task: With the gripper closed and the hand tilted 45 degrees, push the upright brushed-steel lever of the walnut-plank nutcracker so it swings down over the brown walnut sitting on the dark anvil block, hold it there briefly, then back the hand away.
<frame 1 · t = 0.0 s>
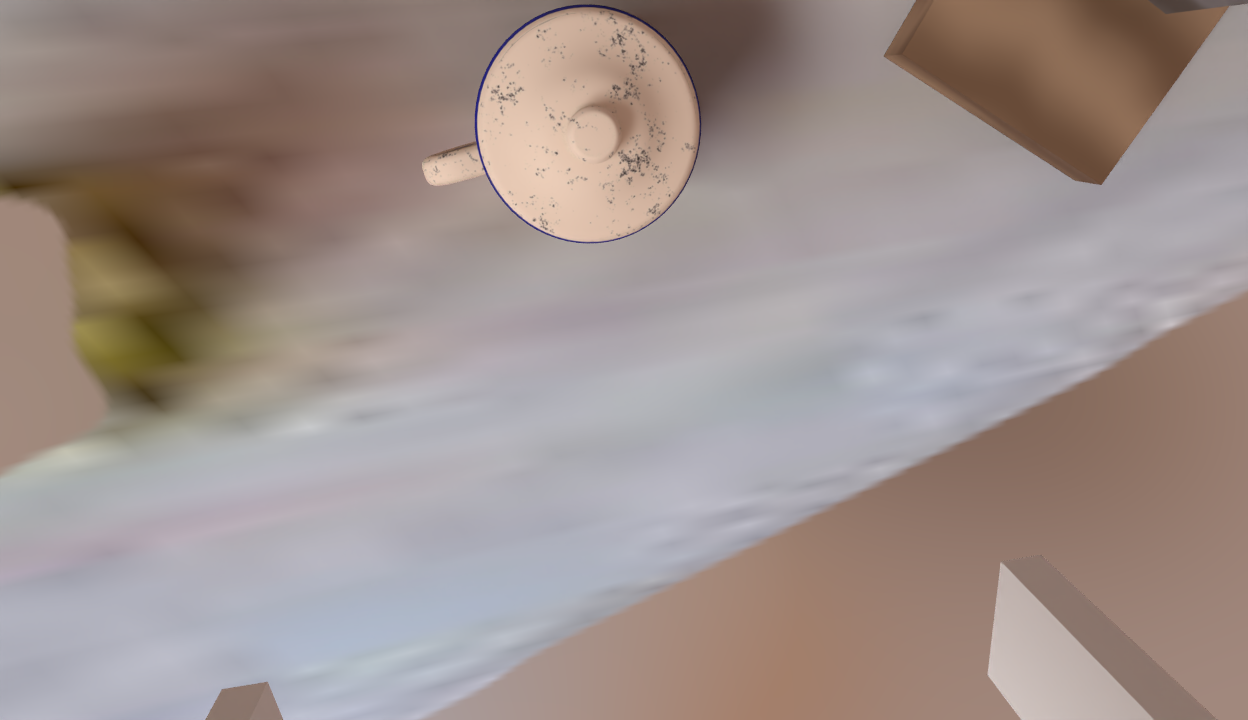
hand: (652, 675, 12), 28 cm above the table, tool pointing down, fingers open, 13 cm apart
teacup with lid: (553, 130, 35), on the table
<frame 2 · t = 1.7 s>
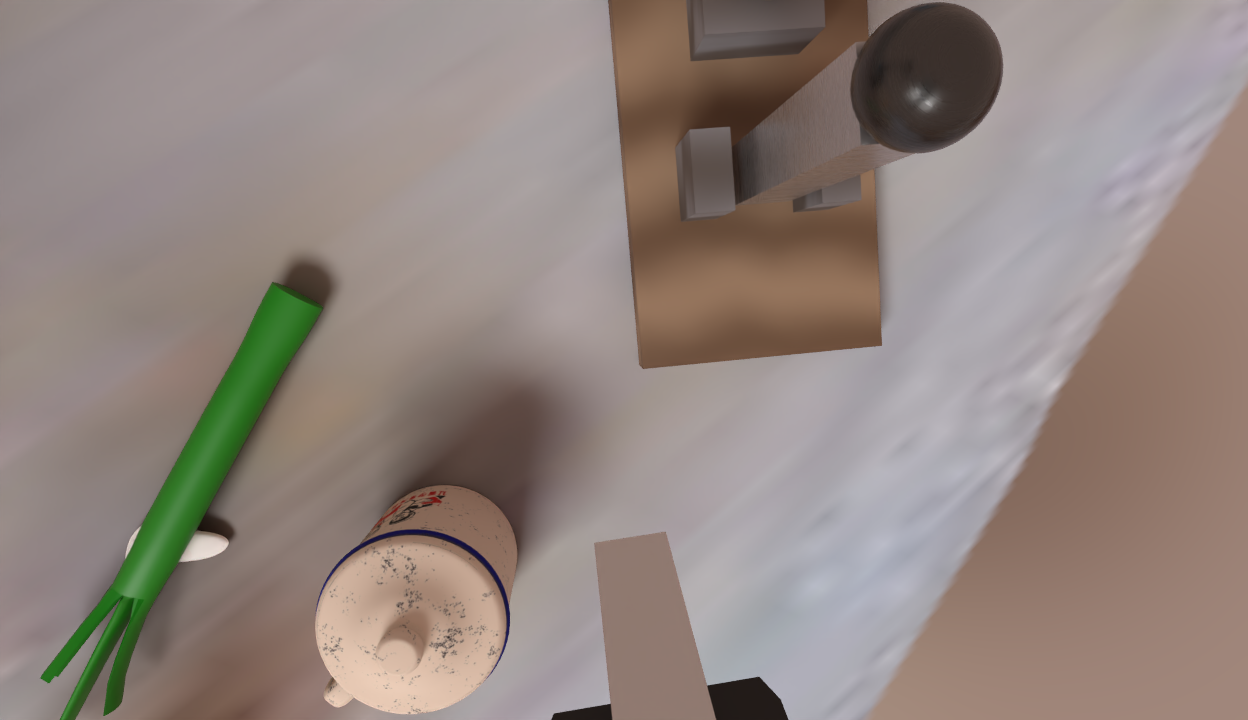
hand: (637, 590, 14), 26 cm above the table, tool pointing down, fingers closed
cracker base: (743, 184, 40), on the table
teacup with lid: (430, 568, 41), on the table
green onion: (195, 522, 40), on the table
lever: (826, 136, 27), point 13 cm above the table, hinge at 0.0°
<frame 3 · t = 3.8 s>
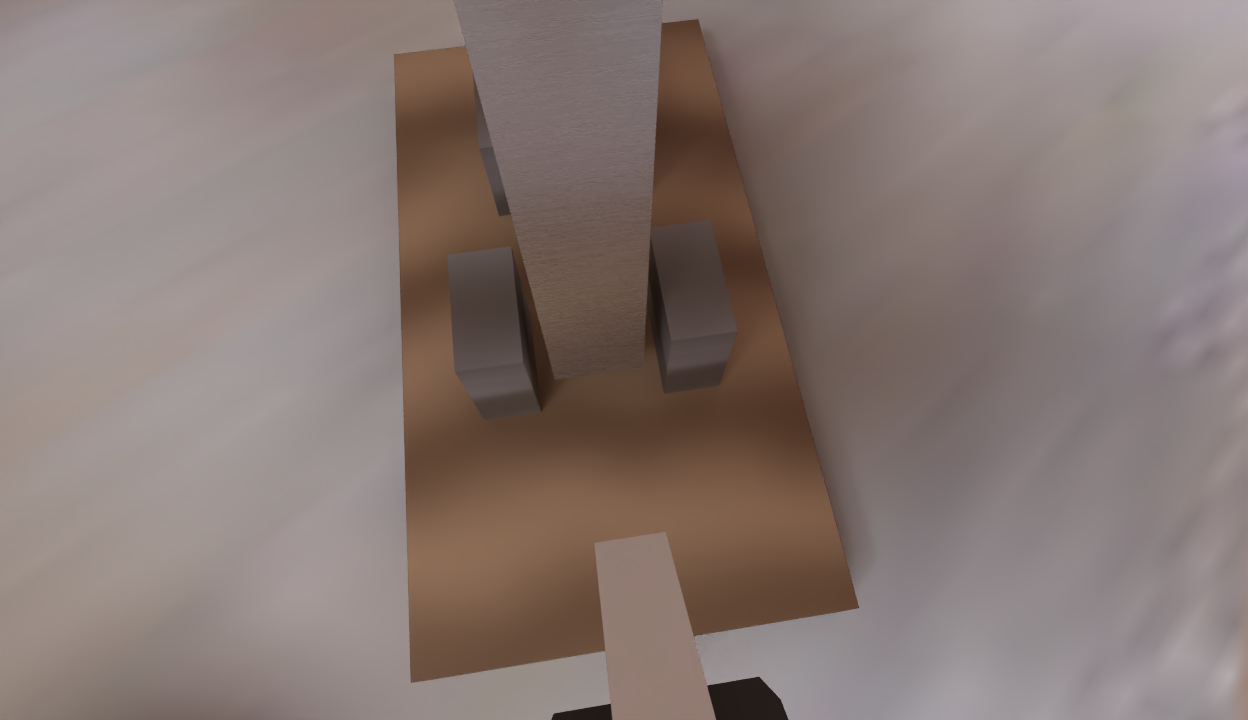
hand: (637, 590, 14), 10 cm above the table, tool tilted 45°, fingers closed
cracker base: (597, 372, 27), on the table
lever: (572, 146, 15), point 13 cm above the table, hinge at 0.0°
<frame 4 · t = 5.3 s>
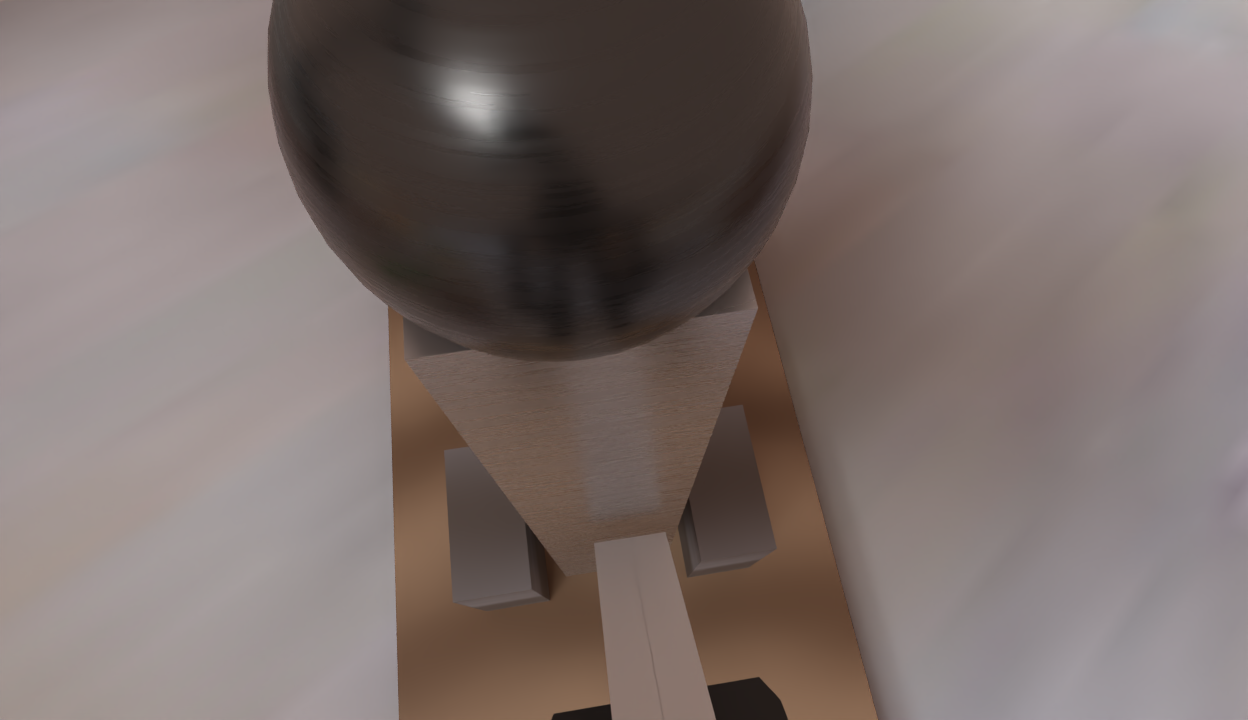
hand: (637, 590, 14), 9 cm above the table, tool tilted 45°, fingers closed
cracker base: (610, 535, 24), on the table
lever: (594, 417, 12), point 13 cm above the table, hinge at 0.9°, touching gripper
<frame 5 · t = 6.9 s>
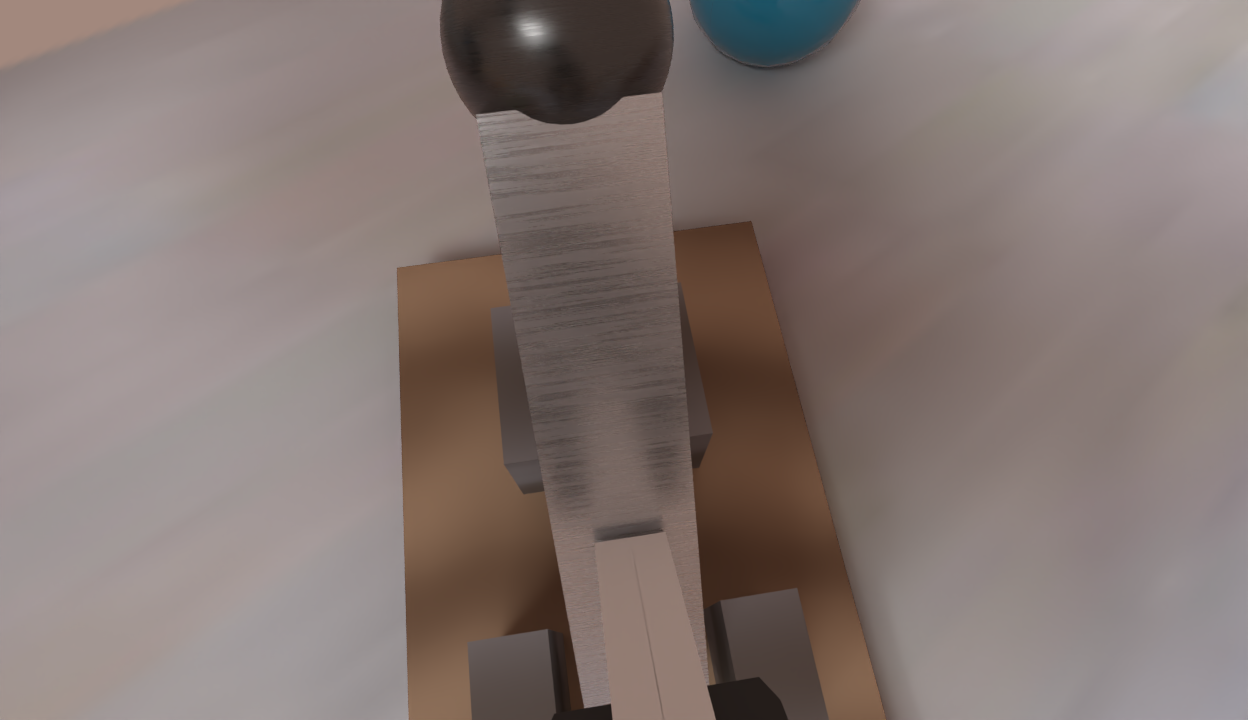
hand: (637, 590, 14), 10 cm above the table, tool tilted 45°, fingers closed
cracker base: (641, 688, 22), on the table
ball: (758, 46, 34), on the table
lever: (608, 417, 15), point 11 cm above the table, hinge at 43.8°, touching gripper
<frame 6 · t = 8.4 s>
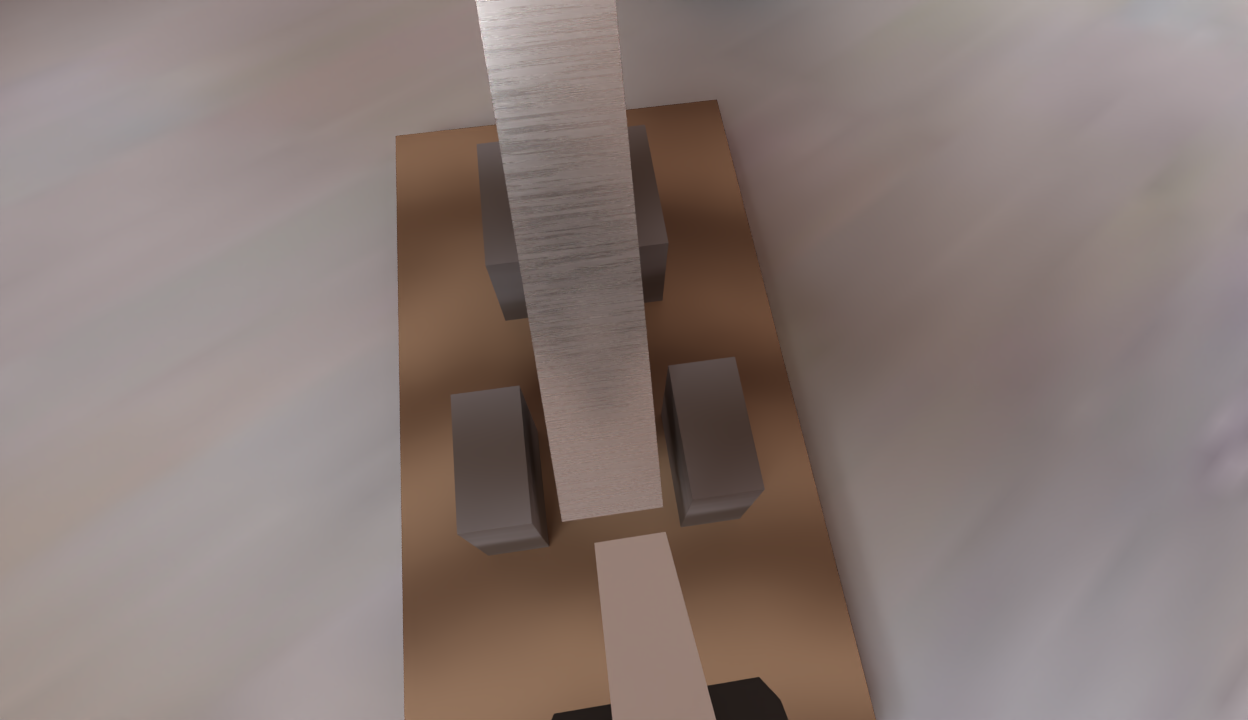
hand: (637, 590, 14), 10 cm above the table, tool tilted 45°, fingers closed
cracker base: (608, 490, 25), on the table
lever: (568, 178, 18), point 11 cm above the table, hinge at 43.9°
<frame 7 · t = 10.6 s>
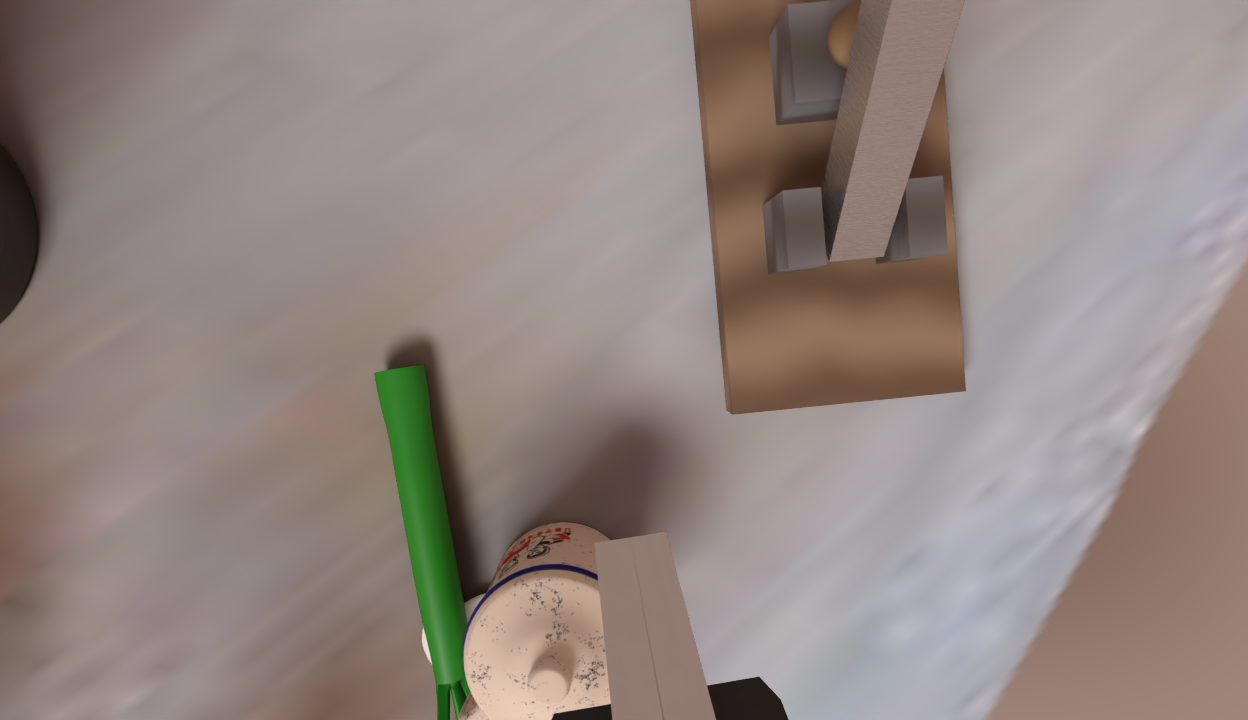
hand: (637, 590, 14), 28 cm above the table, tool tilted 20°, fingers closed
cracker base: (825, 237, 42), on the table
teacup with lid: (548, 603, 43), on the table
green onion: (459, 600, 43), on the table
lever: (890, 77, 31), point 11 cm above the table, hinge at 43.9°
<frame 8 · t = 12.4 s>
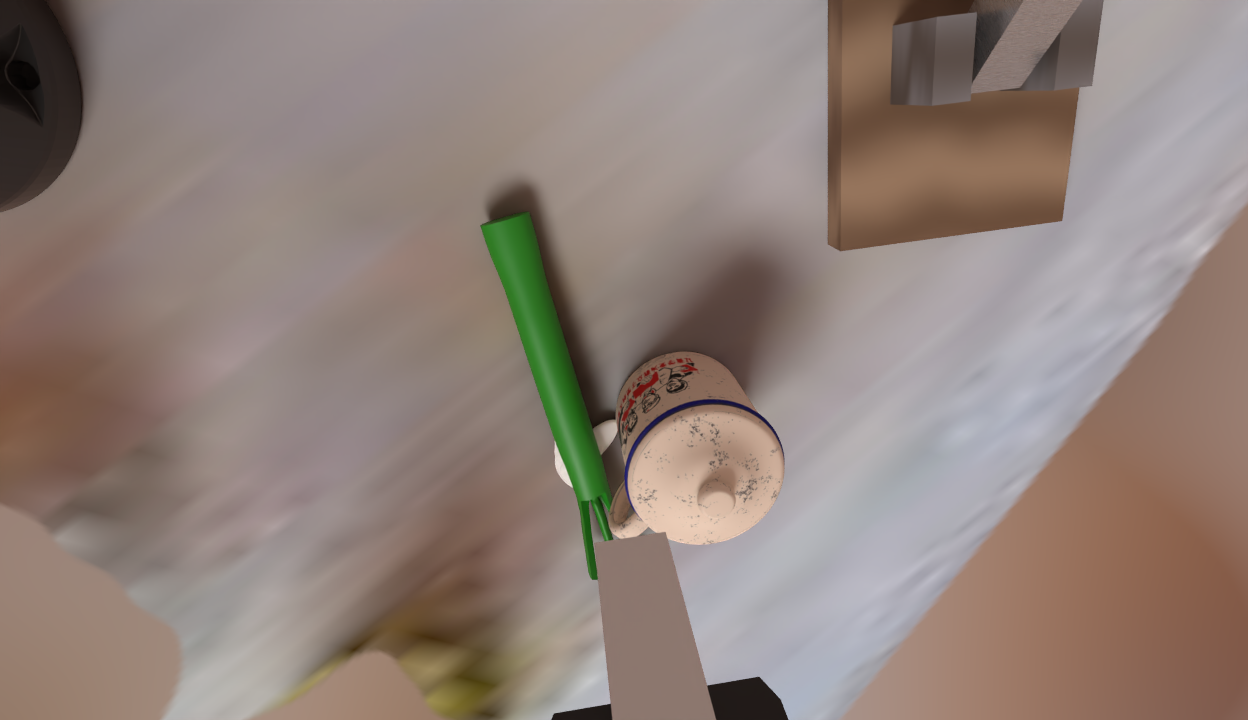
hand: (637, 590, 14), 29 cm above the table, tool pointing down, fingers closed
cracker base: (945, 58, 40), on the table
teacup with lid: (663, 422, 46), on the table, touching green onion
green onion: (582, 427, 46), on the table, touching teacup with lid
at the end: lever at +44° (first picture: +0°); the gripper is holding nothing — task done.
